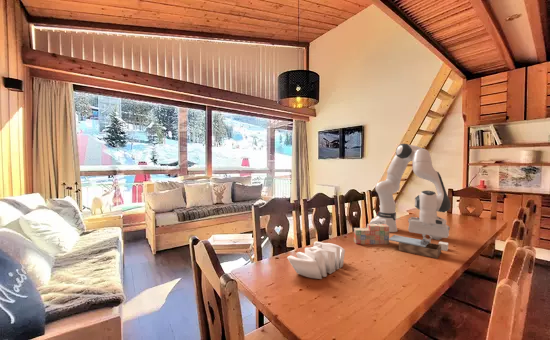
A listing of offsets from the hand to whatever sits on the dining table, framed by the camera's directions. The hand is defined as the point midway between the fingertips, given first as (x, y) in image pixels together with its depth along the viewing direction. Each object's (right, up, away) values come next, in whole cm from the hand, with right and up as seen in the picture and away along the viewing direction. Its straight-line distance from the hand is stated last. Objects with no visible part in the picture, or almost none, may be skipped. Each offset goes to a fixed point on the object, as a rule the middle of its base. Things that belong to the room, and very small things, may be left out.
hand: (427, 242), depth 147 cm
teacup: (+23, -6, +26) cm, 36 cm away
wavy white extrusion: (-67, -9, -18) cm, 69 cm away
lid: (-8, -1, +7) cm, 10 cm away
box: (-3, -7, +3) cm, 8 cm away
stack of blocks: (-25, -7, +21) cm, 33 cm away
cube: (+13, -7, +6) cm, 16 cm away
